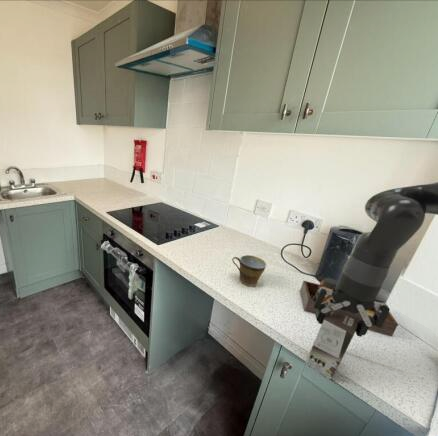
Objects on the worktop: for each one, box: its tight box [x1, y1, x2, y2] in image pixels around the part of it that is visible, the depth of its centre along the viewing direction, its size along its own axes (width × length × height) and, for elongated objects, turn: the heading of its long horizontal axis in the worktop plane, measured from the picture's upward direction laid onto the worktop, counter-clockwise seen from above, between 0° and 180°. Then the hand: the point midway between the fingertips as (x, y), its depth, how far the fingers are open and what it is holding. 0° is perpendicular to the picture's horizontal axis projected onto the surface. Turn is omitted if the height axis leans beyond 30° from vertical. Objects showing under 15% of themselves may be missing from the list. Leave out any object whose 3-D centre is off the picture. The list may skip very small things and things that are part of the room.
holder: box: [299, 280, 399, 337], centre depth 87 cm, size 13×24×6 cm, turn 66°
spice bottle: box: [318, 277, 338, 302], centre depth 88 cm, size 6×6×11 cm
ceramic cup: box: [231, 254, 267, 287], centre depth 102 cm, size 13×10×10 cm
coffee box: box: [305, 308, 360, 381], centre depth 66 cm, size 9×6×16 cm
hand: (338, 327), depth 64 cm, fingers closed on coffee box, 8 cm apart
